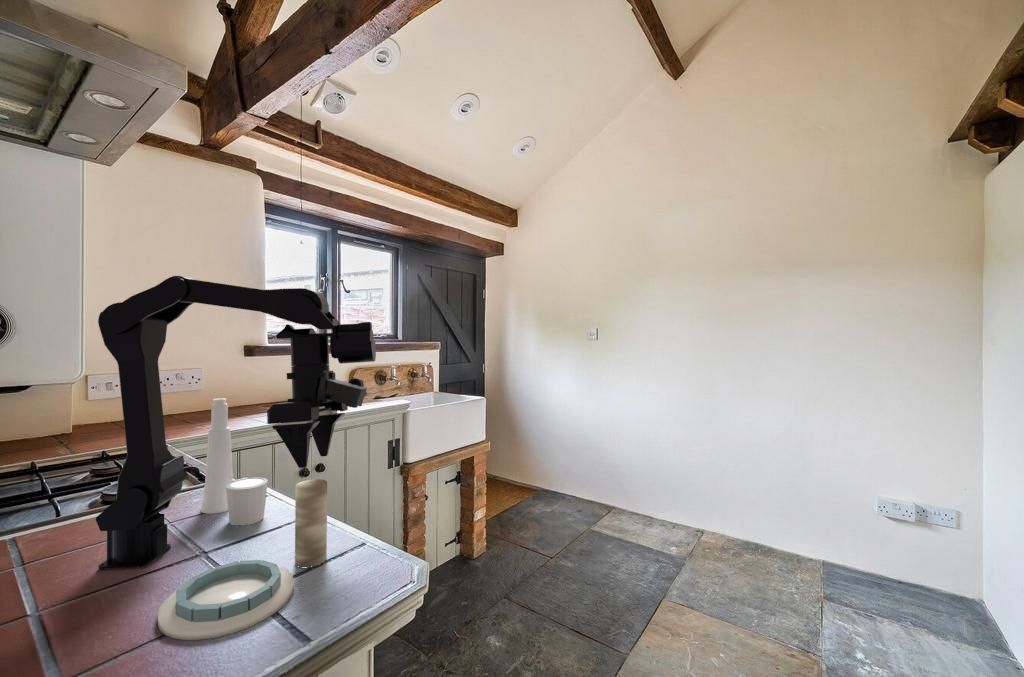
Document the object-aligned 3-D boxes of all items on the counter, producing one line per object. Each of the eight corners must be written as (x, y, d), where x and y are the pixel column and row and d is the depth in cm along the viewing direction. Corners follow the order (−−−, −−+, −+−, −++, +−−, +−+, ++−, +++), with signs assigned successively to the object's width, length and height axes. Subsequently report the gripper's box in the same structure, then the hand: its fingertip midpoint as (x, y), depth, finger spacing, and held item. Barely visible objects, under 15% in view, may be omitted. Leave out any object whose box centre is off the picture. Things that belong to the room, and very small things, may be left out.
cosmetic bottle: (239, 501, 93) (240, 396, 93) (232, 511, 88) (233, 400, 88) (205, 504, 91) (206, 397, 91) (196, 515, 86) (197, 401, 85)
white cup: (248, 528, 81) (248, 490, 80) (216, 525, 82) (216, 487, 82) (275, 513, 87) (276, 478, 87) (245, 510, 89) (245, 475, 89)
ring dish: (126, 644, 51) (126, 622, 51) (202, 573, 65) (202, 556, 65) (265, 635, 52) (265, 614, 52) (308, 568, 67) (308, 552, 67)
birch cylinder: (290, 568, 67) (291, 489, 67) (300, 554, 72) (301, 479, 71) (321, 567, 68) (322, 488, 68) (330, 552, 72) (330, 479, 72)
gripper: (343, 361, 65) (347, 470, 64) (373, 363, 83) (377, 447, 82) (263, 366, 64) (267, 476, 63) (312, 367, 83) (315, 452, 82)
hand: (314, 461), depth 73 cm, fingers open, 9 cm apart
